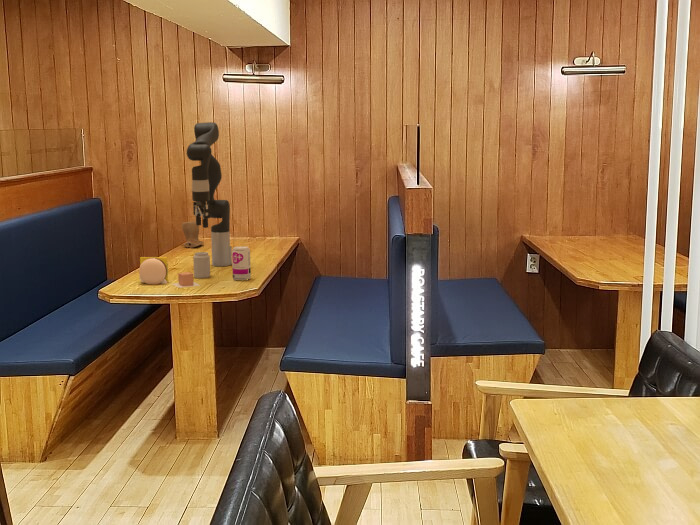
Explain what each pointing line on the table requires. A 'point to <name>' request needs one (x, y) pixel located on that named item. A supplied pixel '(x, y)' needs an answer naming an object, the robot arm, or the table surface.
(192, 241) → the brown boot
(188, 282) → the block
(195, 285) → the pad
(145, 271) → the hamburger
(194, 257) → the can
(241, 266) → the supplement can
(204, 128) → the robot arm
